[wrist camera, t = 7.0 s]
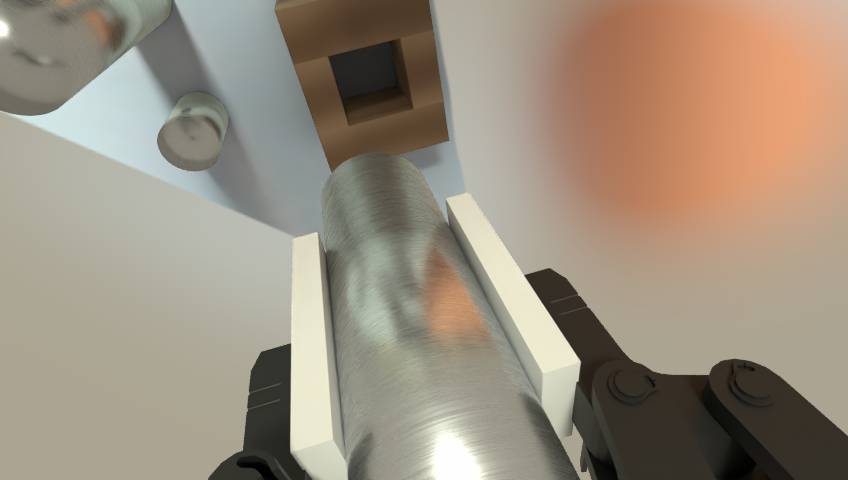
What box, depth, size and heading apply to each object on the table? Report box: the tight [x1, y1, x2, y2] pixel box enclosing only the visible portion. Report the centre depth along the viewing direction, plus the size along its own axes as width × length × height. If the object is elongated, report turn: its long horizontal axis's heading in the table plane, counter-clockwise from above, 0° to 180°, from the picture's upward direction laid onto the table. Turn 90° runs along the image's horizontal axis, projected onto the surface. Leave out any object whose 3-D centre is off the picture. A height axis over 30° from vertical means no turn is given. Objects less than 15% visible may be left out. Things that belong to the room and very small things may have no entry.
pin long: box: [0, 0, 172, 116], centre depth 23 cm, size 4×4×18 cm
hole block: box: [275, 0, 449, 172], centre depth 34 cm, size 12×10×6 cm
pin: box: [321, 152, 580, 480], centre depth 11 cm, size 4×4×14 cm
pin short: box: [157, 92, 229, 171], centre depth 33 cm, size 4×4×6 cm
